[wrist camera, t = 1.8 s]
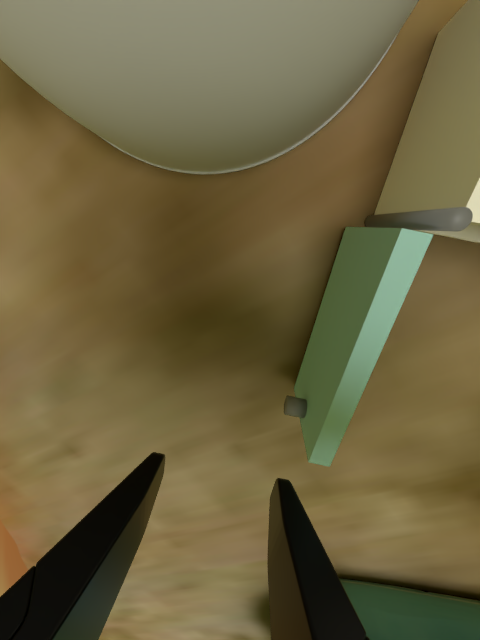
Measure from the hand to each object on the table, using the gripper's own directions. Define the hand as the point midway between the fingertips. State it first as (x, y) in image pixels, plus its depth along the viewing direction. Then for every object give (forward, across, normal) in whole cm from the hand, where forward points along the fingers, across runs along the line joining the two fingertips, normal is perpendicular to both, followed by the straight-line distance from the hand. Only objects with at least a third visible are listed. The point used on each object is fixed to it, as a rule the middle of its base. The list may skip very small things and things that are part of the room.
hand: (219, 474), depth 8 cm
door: (+12, -5, -2) cm, 13 cm away
